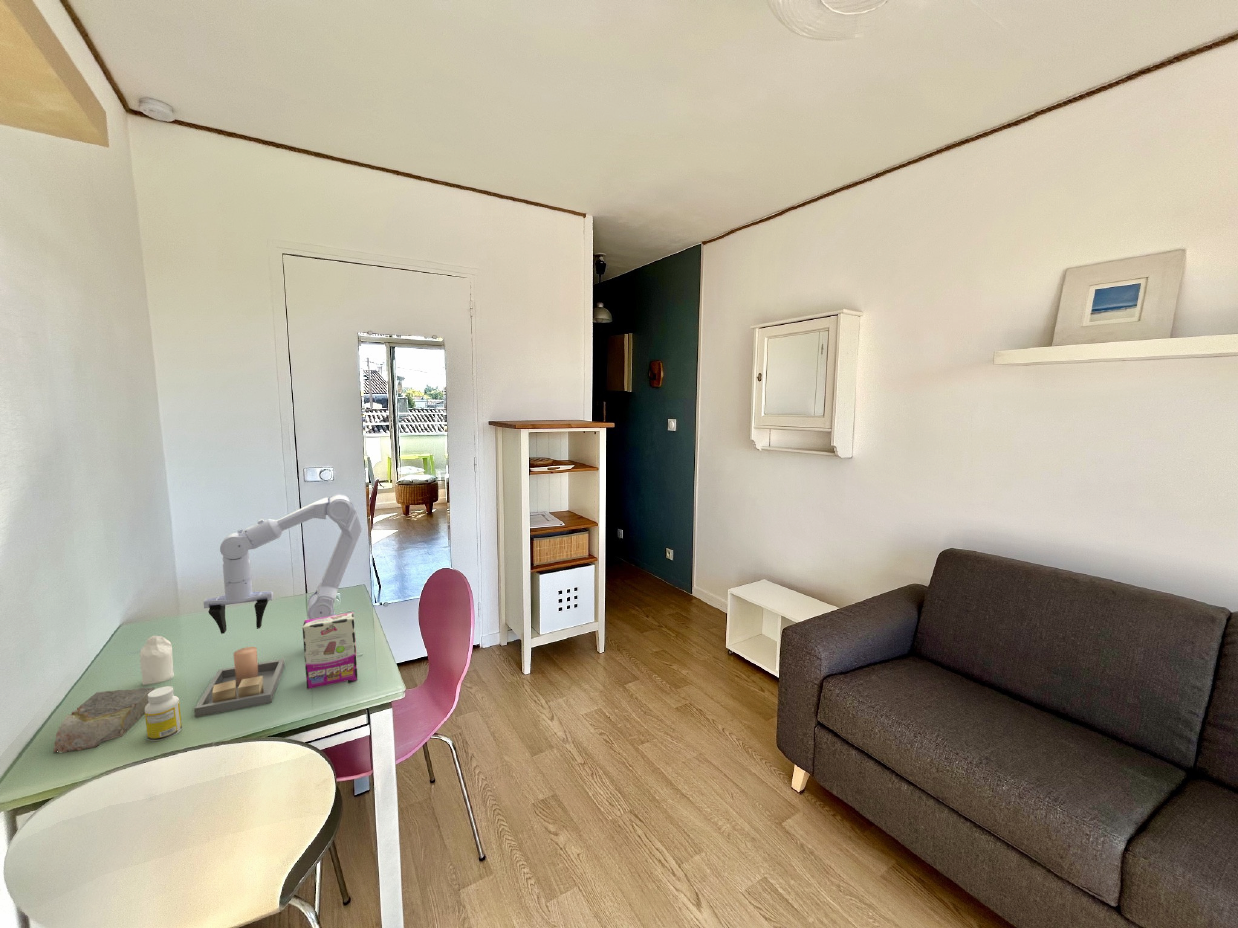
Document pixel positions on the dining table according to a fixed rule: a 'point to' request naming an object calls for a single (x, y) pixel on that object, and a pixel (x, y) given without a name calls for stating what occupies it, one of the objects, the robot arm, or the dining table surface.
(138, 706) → the geological specimen
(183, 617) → the dining table surface
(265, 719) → the dining table surface
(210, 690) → the tray
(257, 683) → the beech block
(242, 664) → the flesh-toned capsule
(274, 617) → the dining table surface
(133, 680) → the dining table surface
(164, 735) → the supplement bottle
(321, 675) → the candy bar box
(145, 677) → the white sack
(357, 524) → the robot arm
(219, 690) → the beech block
